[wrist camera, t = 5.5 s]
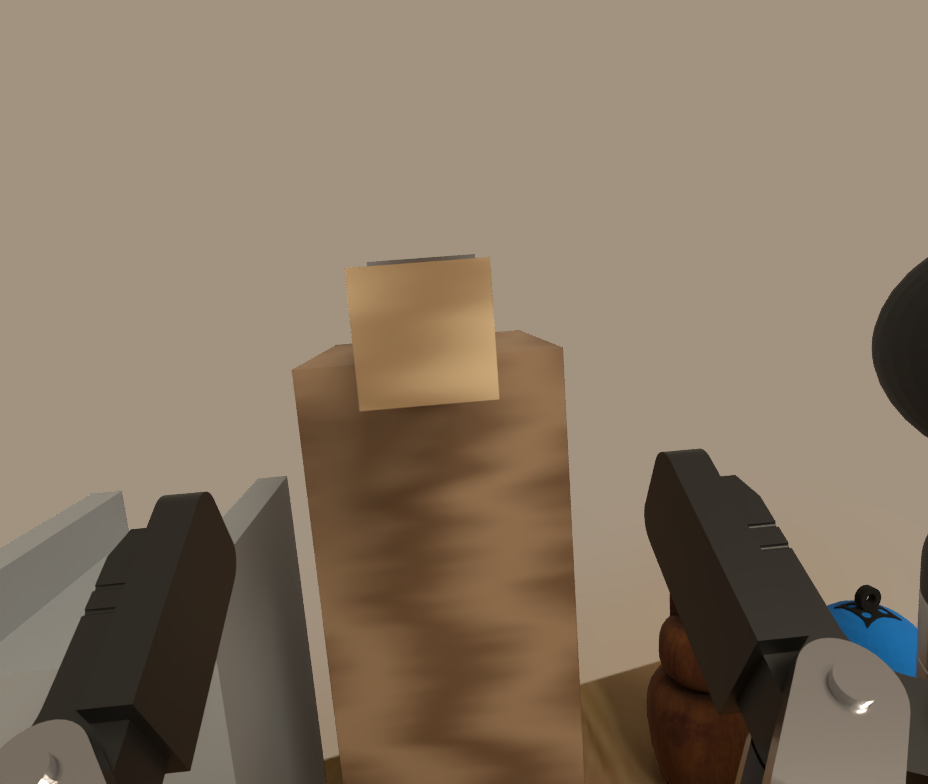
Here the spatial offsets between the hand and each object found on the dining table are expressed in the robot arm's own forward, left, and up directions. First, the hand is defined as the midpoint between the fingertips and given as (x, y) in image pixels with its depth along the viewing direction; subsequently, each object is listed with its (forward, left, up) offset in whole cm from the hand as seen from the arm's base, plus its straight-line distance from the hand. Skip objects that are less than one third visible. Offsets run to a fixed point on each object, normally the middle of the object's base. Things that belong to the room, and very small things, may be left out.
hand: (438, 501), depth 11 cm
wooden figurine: (-15, -23, -29) cm, 40 cm away
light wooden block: (0, -12, +1) cm, 12 cm away
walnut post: (0, -17, -29) cm, 33 cm away
